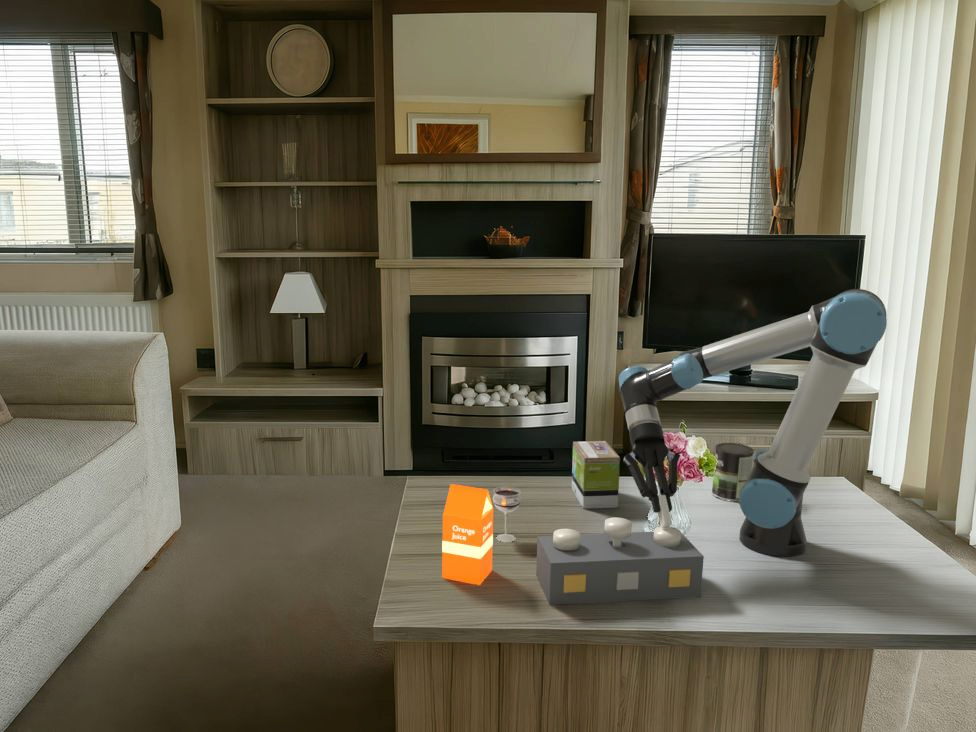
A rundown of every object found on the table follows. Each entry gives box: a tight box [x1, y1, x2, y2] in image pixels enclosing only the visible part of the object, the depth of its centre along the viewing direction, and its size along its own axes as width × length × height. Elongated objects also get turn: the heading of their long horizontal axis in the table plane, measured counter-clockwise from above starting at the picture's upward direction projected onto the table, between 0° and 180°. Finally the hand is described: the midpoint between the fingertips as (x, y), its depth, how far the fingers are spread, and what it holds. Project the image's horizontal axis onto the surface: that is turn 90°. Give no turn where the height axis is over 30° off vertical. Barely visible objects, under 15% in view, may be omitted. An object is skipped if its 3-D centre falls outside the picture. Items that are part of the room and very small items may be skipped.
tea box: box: [571, 440, 621, 510], centre depth 209 cm, size 15×10×15 cm
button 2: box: [653, 525, 682, 548], centre depth 162 cm, size 6×6×7 cm
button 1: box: [552, 528, 581, 551], centre depth 159 cm, size 6×6×7 cm
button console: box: [535, 531, 705, 606], centre depth 160 cm, size 32×13×9 cm, turn 98°
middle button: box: [603, 516, 633, 547], centre depth 160 cm, size 6×6×7 cm
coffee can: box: [711, 442, 755, 502], centre depth 214 cm, size 10×10×14 cm
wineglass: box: [492, 485, 522, 543], centre depth 182 cm, size 7×7×12 cm
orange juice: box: [441, 483, 494, 586], centre depth 163 cm, size 8×9×20 cm
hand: (666, 525), depth 161 cm, fingers closed
